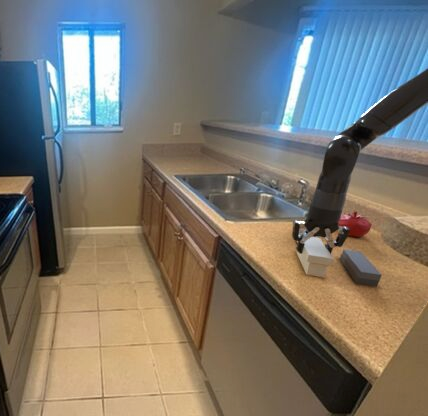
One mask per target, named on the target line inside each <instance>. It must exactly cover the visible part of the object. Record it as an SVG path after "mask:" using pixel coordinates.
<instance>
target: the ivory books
mask: <svg viewBox="0 0 428 416" xmlns="http://www.w3.org/2000/svg"><path fill="white" fill-rule="evenodd" d="M296 255H297V257H298V259H299V261H300V263H301V266H302V268H303V271H304V272H305V274H306V275H307V276H312V277H318V278H323V279H324V278H326V274H327V270H328V266H329V265H323V264H317V263H311V262H307V261H306V259H305V257H304V255H303V253H302V254H300V253H299V252H298V251H297V250H296Z"/></svg>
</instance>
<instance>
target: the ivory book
mask: <svg viewBox="0 0 428 416" xmlns="http://www.w3.org/2000/svg"><path fill="white" fill-rule="evenodd" d="M299 236H301V235H299ZM297 243H298V241H297ZM304 244H305V245H304V248H303V251H302V253H303V255H304V257H305V259H306V261H307V262H311V263H317V264H323V265H328V266H329V267H332V266H333V263H334V260H335V258H334V257H333V255H332V253H331V254H330V252H329V251H328V249H327V248H326V247H325V245H326V244H325V243H324V242H323V240H322V239H321V237H318V236H316V237H311V238H310V239H308V240H307V241H306V242H304Z"/></svg>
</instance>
